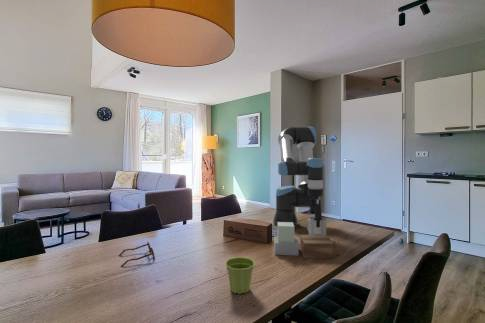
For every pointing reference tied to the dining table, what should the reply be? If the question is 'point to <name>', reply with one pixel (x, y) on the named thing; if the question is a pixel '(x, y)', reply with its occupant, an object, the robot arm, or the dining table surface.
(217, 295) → the dining table surface
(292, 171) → the robot arm
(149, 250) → the glasses
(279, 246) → the slate block
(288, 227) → the sage cube
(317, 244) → the walnut plinth
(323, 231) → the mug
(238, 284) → the plant pot
